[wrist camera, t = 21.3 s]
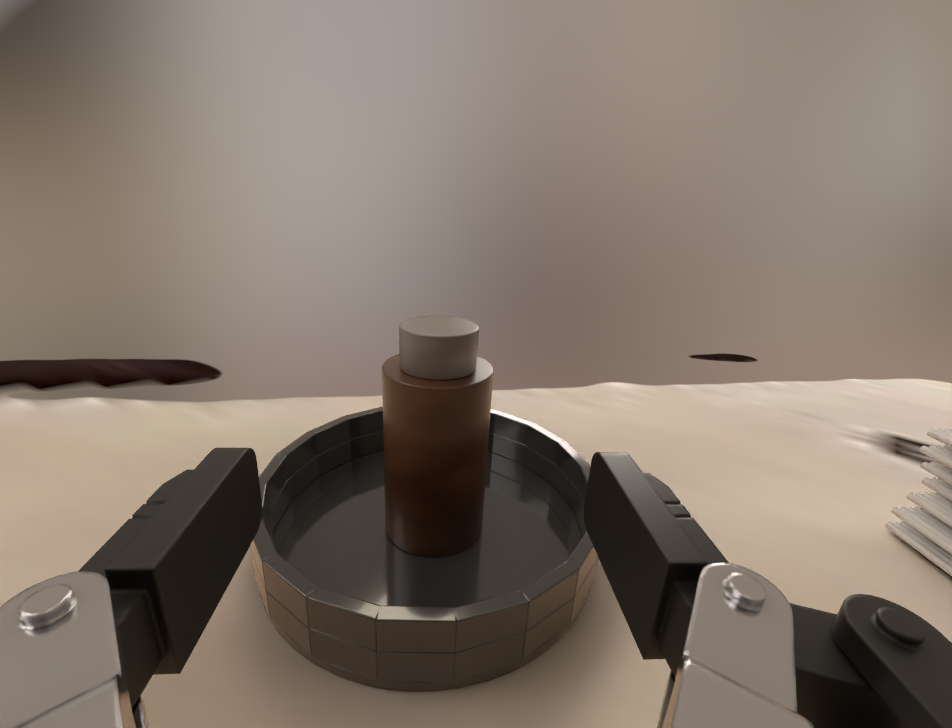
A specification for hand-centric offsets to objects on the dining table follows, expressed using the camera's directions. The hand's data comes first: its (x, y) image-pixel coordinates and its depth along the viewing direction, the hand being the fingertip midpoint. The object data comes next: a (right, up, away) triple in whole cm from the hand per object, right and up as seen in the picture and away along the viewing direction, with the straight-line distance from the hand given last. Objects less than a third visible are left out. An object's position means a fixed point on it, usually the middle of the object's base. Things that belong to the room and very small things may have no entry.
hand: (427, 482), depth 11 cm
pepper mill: (-1, -6, +13) cm, 15 cm away
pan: (-1, -6, +14) cm, 15 cm away
